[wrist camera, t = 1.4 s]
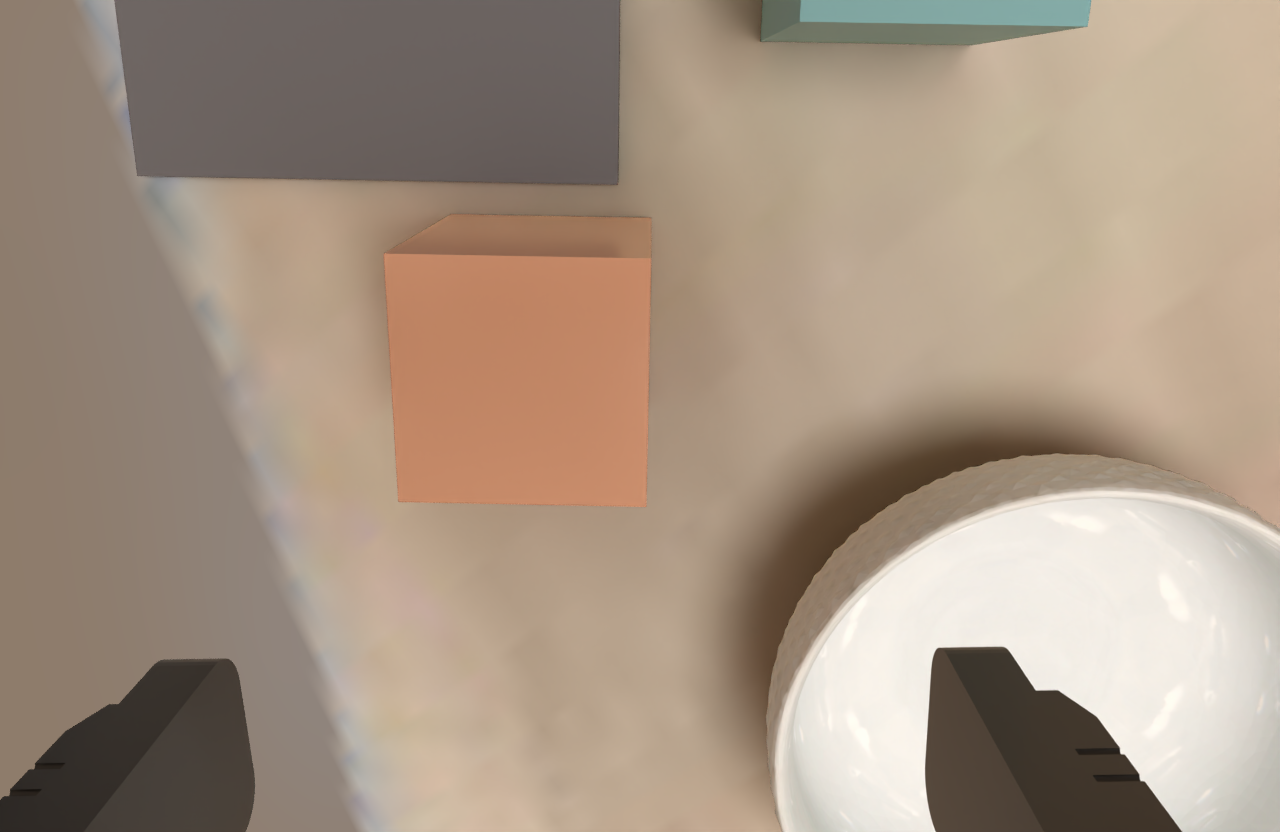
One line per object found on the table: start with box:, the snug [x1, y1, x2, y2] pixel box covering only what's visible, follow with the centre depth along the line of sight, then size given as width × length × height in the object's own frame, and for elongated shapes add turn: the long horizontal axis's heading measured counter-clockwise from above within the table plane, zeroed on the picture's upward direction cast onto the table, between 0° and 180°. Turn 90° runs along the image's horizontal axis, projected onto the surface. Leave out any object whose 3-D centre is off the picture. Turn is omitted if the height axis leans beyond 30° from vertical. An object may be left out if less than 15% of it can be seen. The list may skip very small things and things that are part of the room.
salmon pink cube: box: [384, 214, 651, 507], centre depth 27 cm, size 6×6×8 cm
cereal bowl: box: [766, 453, 1280, 832], centre depth 31 cm, size 17×17×7 cm
